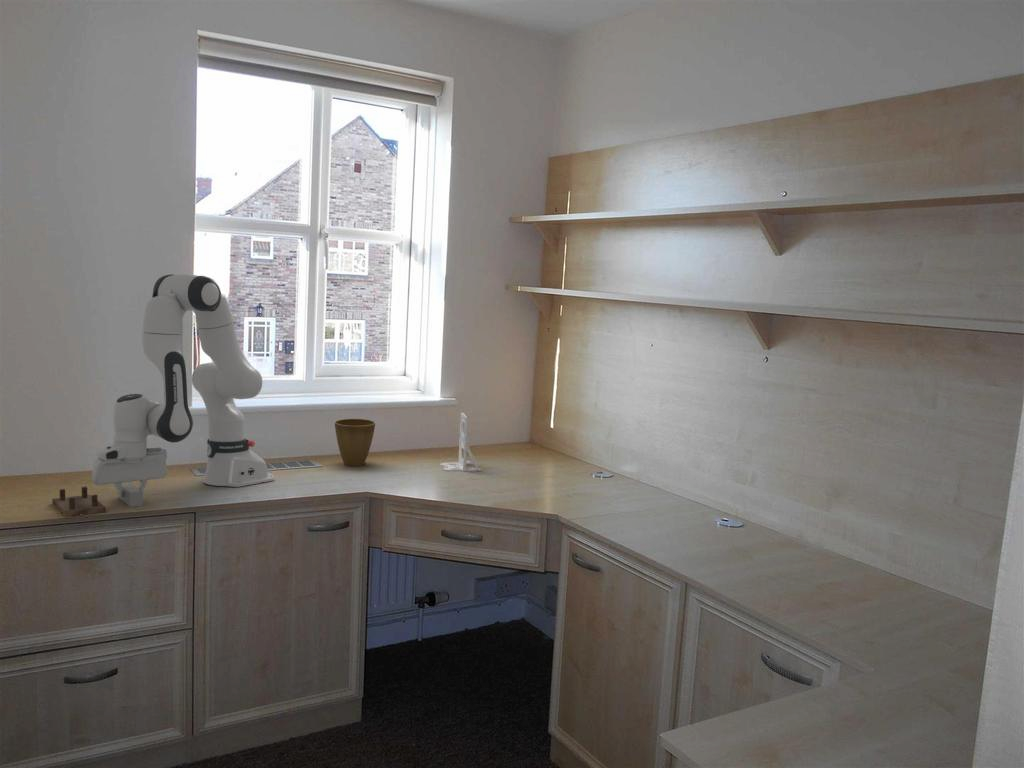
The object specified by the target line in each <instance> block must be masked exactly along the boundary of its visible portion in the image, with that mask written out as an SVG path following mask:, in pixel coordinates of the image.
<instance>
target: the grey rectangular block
mask: <svg viewBox="0 0 1024 768" xmlns="http://www.w3.org/2000/svg"><path fill="white" fill-rule="evenodd" d="M119 487H120V489H121V490H124V491H125V497H121V498H120V497H119V496H118V499H119V498H120V499H119V500H120V501H122V502H123V501H124V502H125V504H126V506H128V505H129V506H128V507H130V508H134V507H133V506H137V507H144V504H143V503H144V501H143V500H144V491H142V490H140V489H139V487H138V486H136V485H135V484H133V483H132V482H123V483H121V486H119ZM124 502H123V503H124Z"/></svg>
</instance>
